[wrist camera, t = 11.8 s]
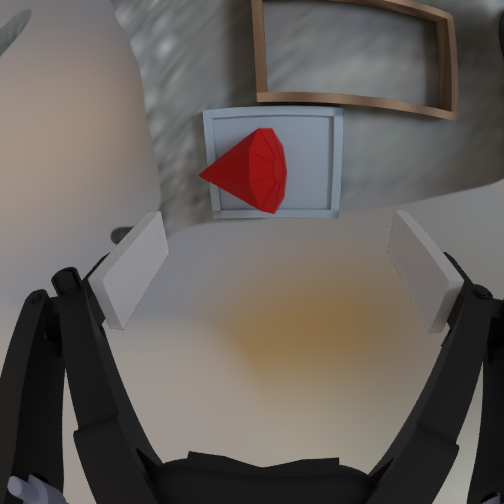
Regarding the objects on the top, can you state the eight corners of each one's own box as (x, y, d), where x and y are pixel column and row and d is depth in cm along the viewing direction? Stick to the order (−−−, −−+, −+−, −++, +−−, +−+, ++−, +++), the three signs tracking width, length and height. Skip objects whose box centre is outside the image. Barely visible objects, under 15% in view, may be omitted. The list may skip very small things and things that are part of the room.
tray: (340, 107, 28) (343, 107, 26) (336, 213, 34) (338, 218, 33) (205, 109, 29) (202, 110, 28) (215, 213, 36) (213, 218, 34)
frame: (440, 18, 19) (452, 14, 16) (444, 118, 26) (457, 121, 23) (252, -8, 21) (250, -17, 18) (258, 101, 28) (257, 102, 26)
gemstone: (203, 229, 33) (283, 233, 29) (159, 182, 26) (248, 174, 22) (228, 172, 37) (300, 168, 32) (194, 123, 30) (275, 108, 25)
